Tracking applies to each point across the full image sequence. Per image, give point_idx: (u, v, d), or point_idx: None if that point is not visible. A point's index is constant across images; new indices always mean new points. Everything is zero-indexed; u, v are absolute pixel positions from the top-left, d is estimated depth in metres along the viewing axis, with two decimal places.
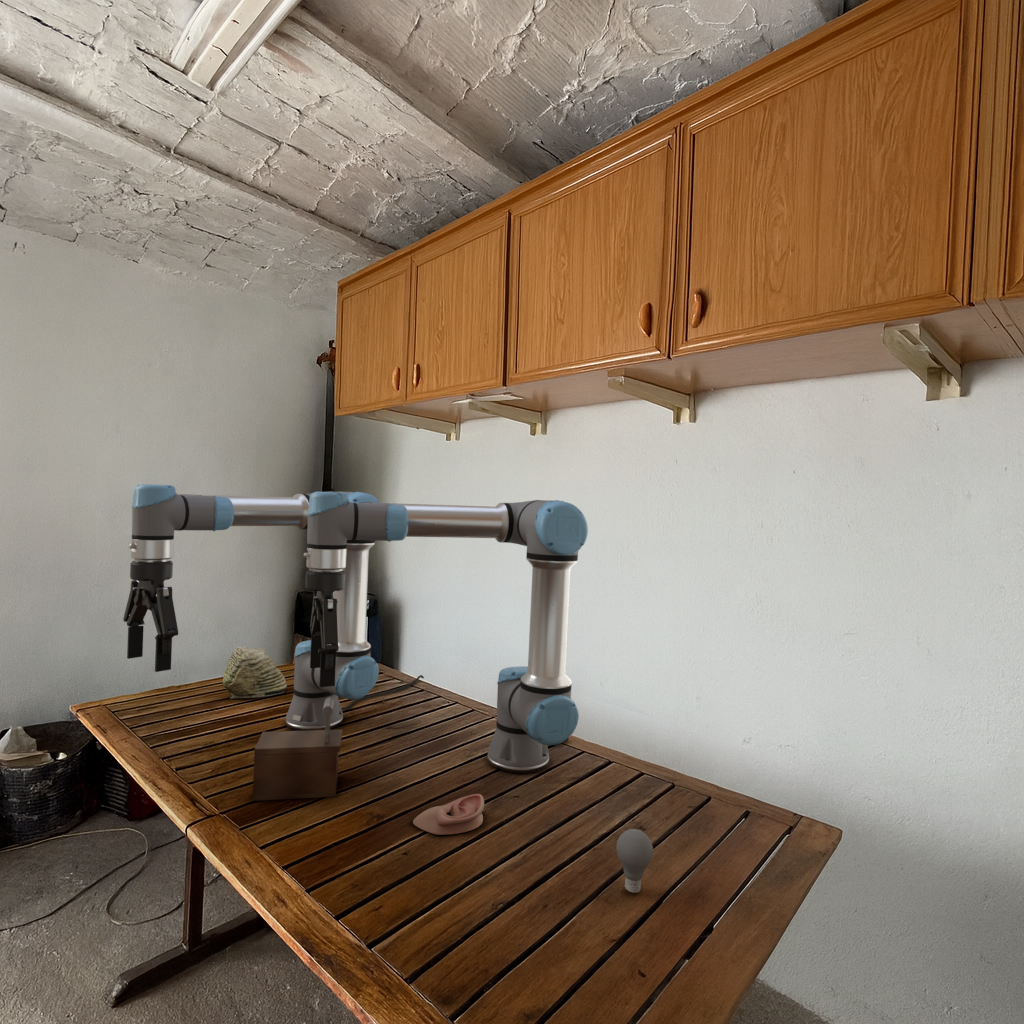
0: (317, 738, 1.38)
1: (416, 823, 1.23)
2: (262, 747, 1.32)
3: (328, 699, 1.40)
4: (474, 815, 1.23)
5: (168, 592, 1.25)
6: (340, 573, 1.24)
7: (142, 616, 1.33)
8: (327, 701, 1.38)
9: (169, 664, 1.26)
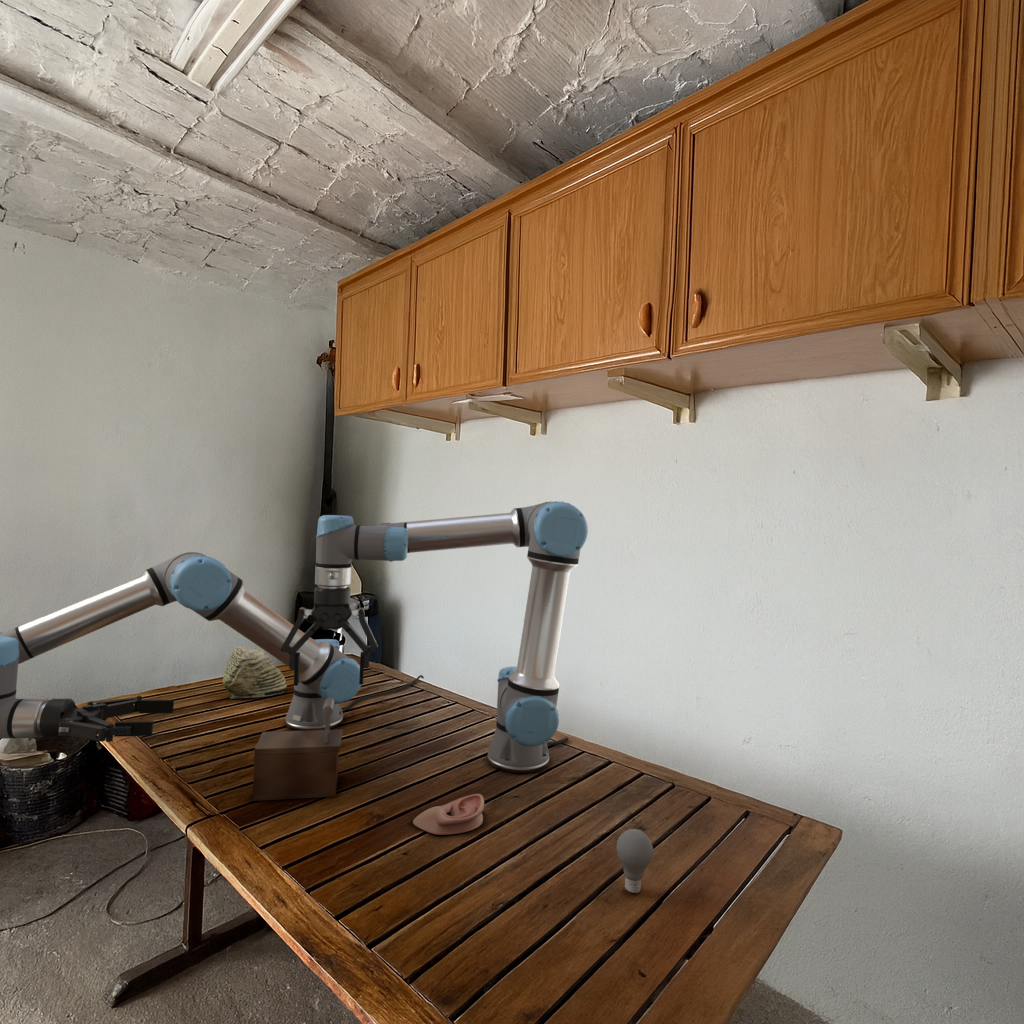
0: (317, 738, 1.38)
1: (416, 823, 1.23)
2: (262, 747, 1.32)
3: (328, 699, 1.40)
4: (474, 815, 1.23)
5: (63, 727, 1.21)
6: None
7: (126, 704, 1.35)
8: (327, 701, 1.38)
9: (145, 723, 1.24)
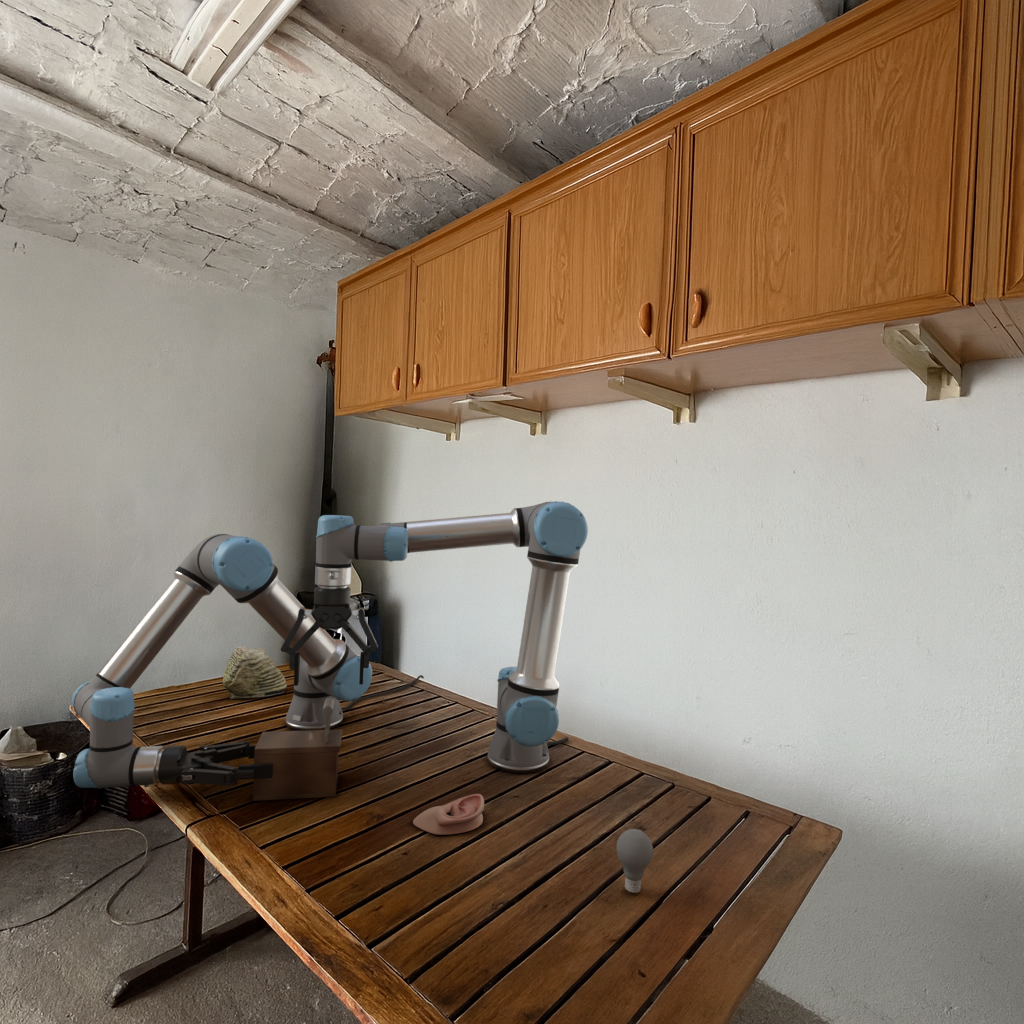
0: (317, 738, 1.38)
1: (416, 823, 1.23)
2: (262, 747, 1.32)
3: (328, 699, 1.40)
4: (474, 815, 1.23)
5: (187, 775, 1.26)
6: None
7: (235, 750, 1.38)
8: (327, 701, 1.38)
9: (266, 766, 1.30)
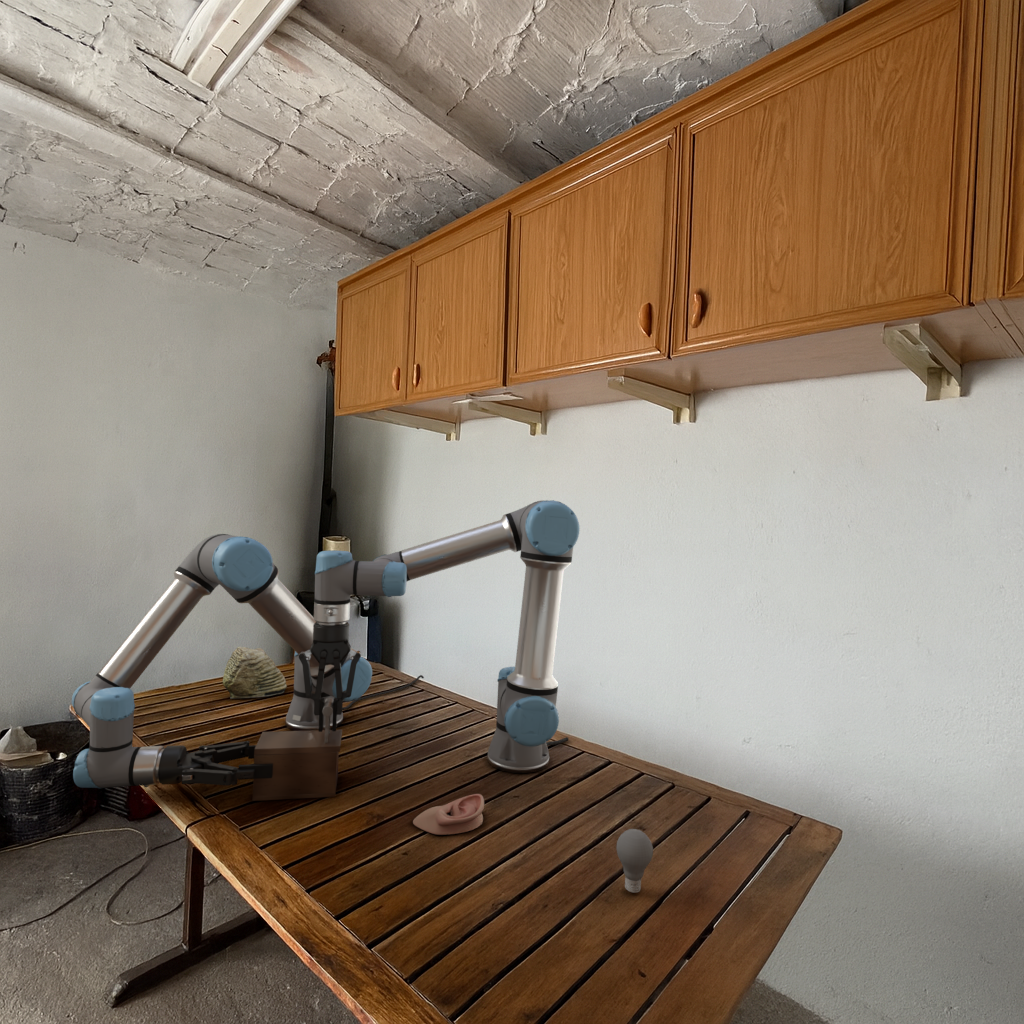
0: (317, 738, 1.38)
1: (416, 823, 1.23)
2: (262, 747, 1.32)
3: (328, 699, 1.40)
4: (474, 815, 1.23)
5: (187, 775, 1.26)
6: None
7: (235, 750, 1.38)
8: (327, 701, 1.38)
9: (266, 766, 1.30)
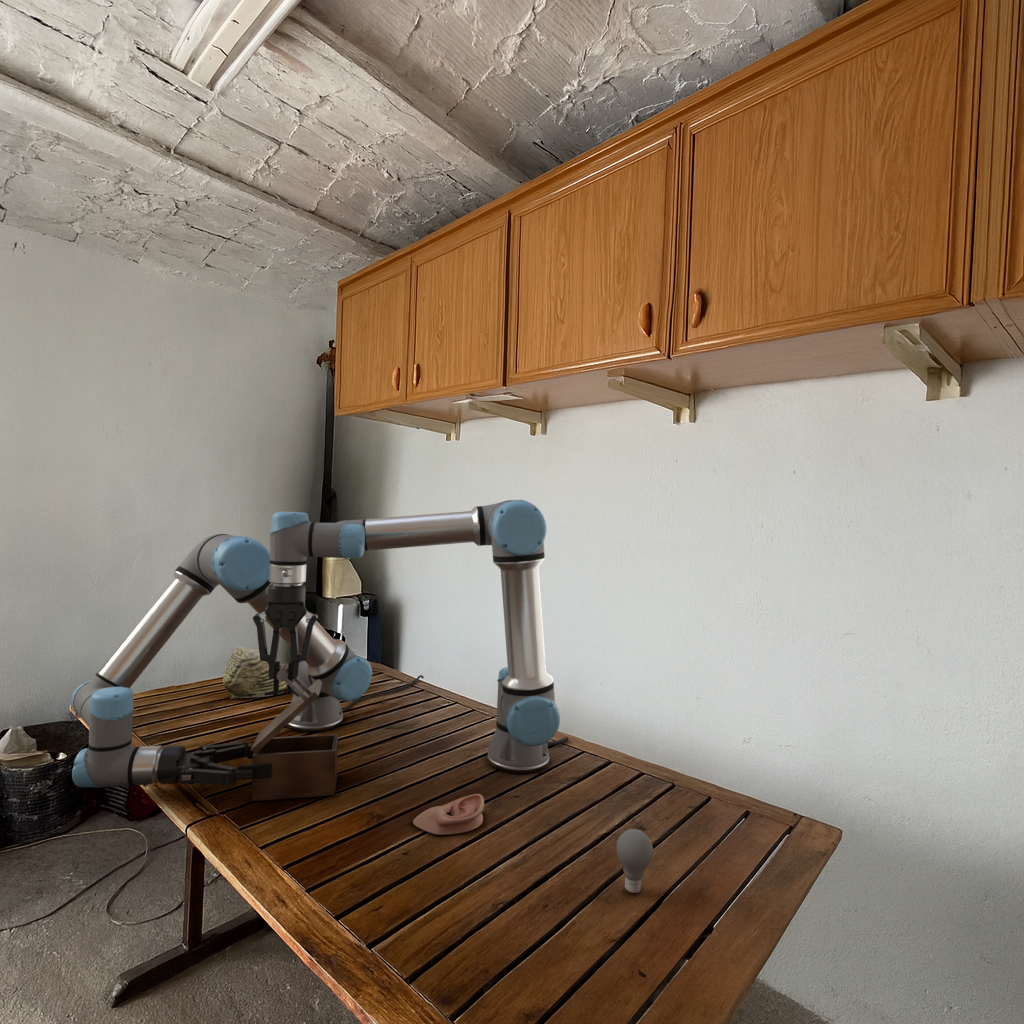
0: (298, 701, 1.36)
1: (416, 823, 1.23)
2: (256, 743, 1.31)
3: (281, 667, 1.37)
4: (474, 815, 1.23)
5: (186, 775, 1.26)
6: None
7: (234, 750, 1.38)
8: None
9: (265, 766, 1.30)
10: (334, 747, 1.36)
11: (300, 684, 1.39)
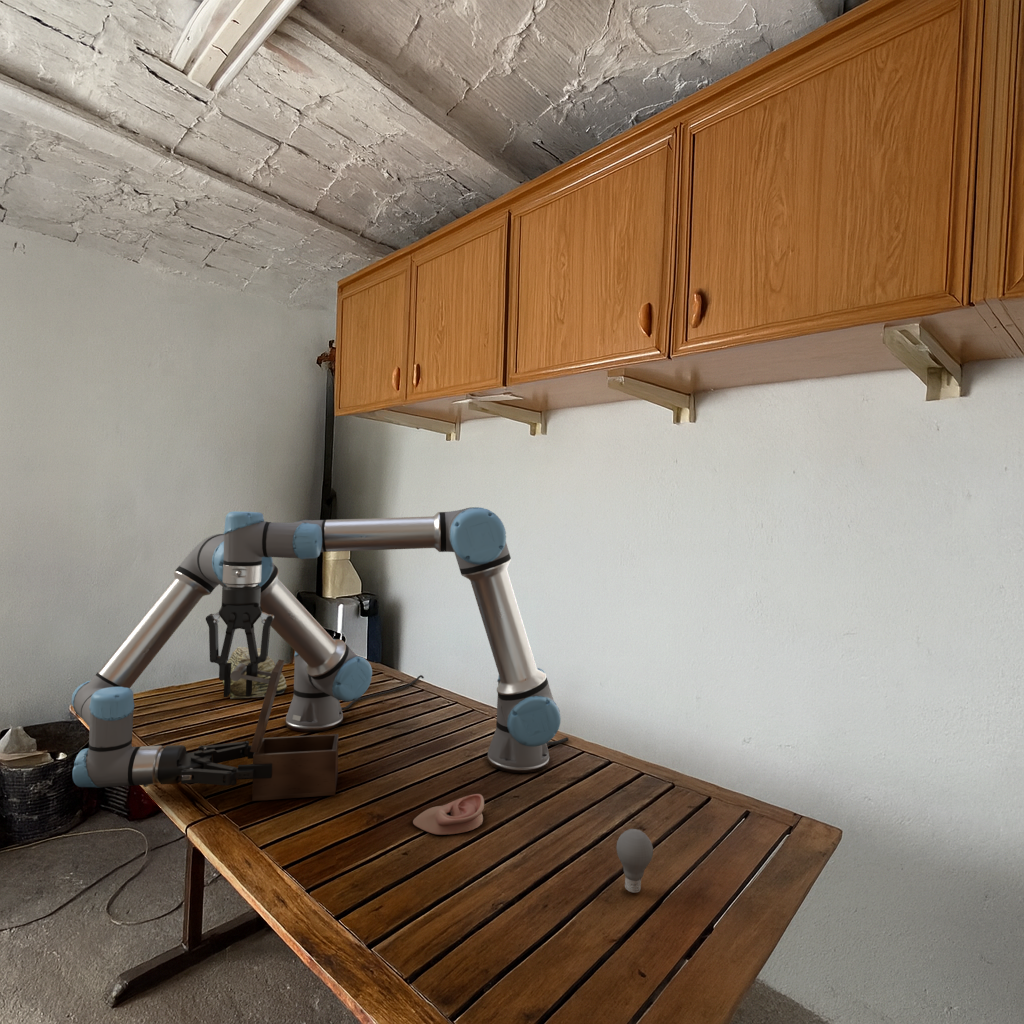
0: None
1: (416, 823, 1.23)
2: (252, 743, 1.31)
3: None
4: (474, 815, 1.23)
5: (186, 775, 1.26)
6: None
7: (234, 750, 1.38)
8: None
9: (266, 766, 1.30)
10: (335, 747, 1.36)
11: (263, 673, 1.37)
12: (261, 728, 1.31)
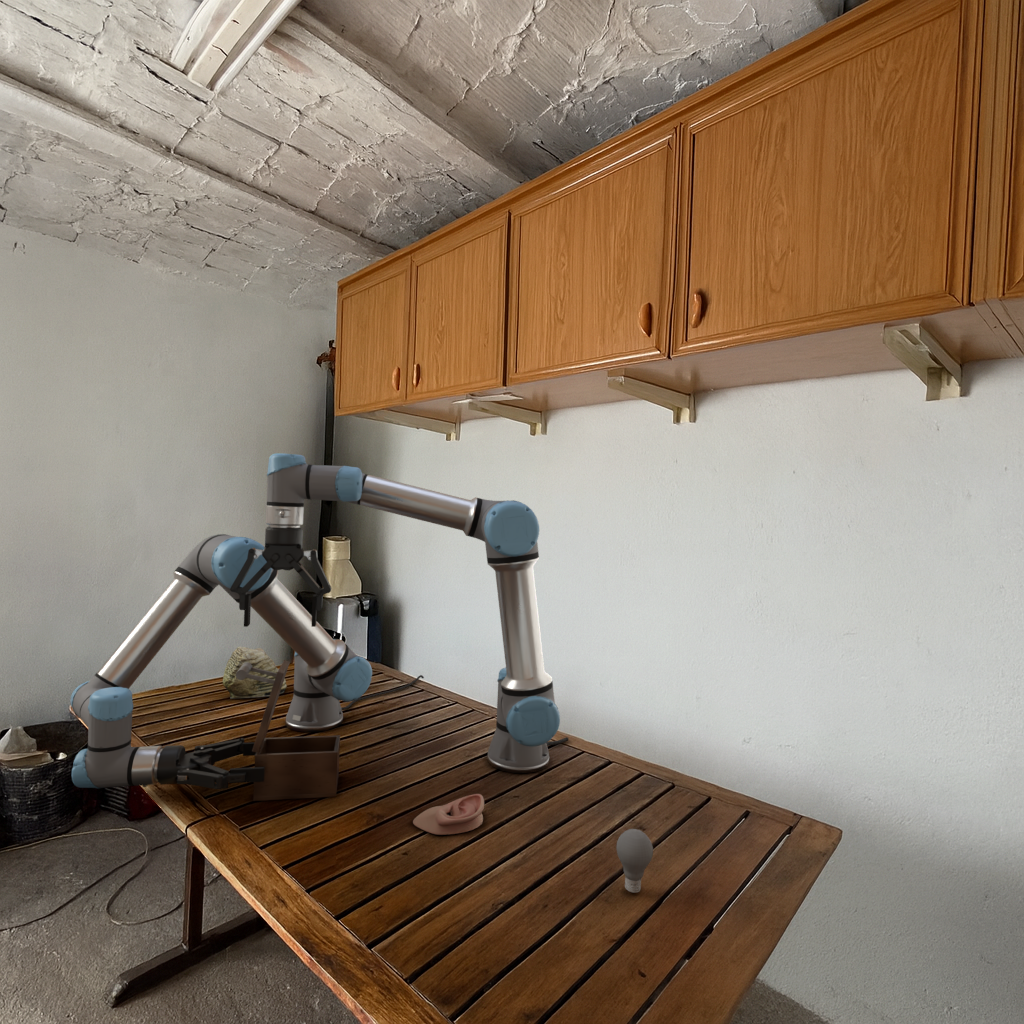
0: None
1: (416, 823, 1.23)
2: (254, 743, 1.31)
3: None
4: (474, 815, 1.23)
5: (181, 775, 1.26)
6: None
7: (231, 748, 1.39)
8: None
9: (258, 770, 1.28)
10: (337, 748, 1.36)
11: (268, 673, 1.37)
12: (264, 728, 1.31)
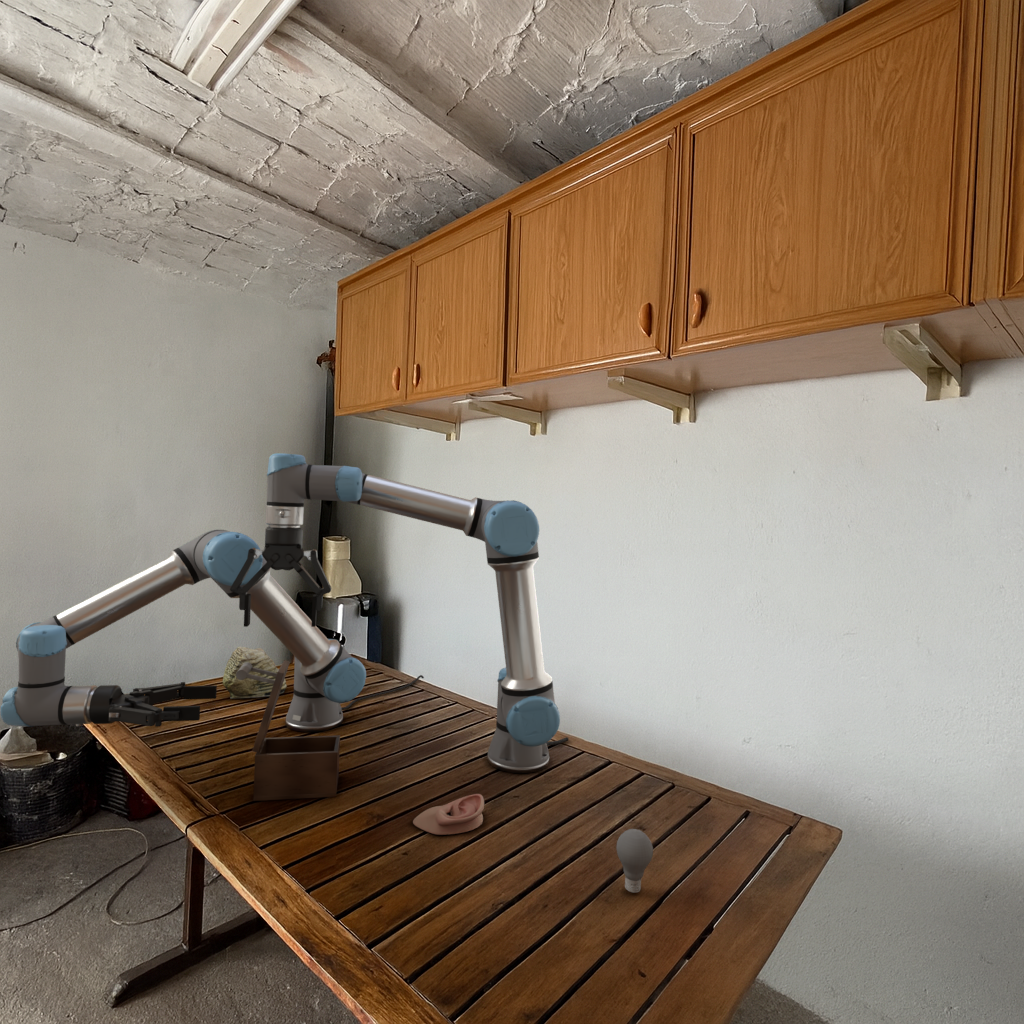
0: None
1: (416, 823, 1.23)
2: None
3: None
4: (474, 815, 1.23)
5: (113, 712, 1.23)
6: None
7: (171, 691, 1.36)
8: None
9: (193, 708, 1.26)
10: (337, 748, 1.36)
11: (268, 673, 1.37)
12: (264, 728, 1.31)
